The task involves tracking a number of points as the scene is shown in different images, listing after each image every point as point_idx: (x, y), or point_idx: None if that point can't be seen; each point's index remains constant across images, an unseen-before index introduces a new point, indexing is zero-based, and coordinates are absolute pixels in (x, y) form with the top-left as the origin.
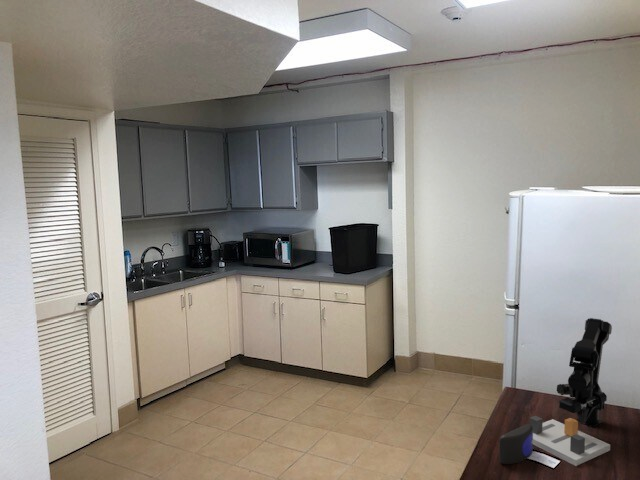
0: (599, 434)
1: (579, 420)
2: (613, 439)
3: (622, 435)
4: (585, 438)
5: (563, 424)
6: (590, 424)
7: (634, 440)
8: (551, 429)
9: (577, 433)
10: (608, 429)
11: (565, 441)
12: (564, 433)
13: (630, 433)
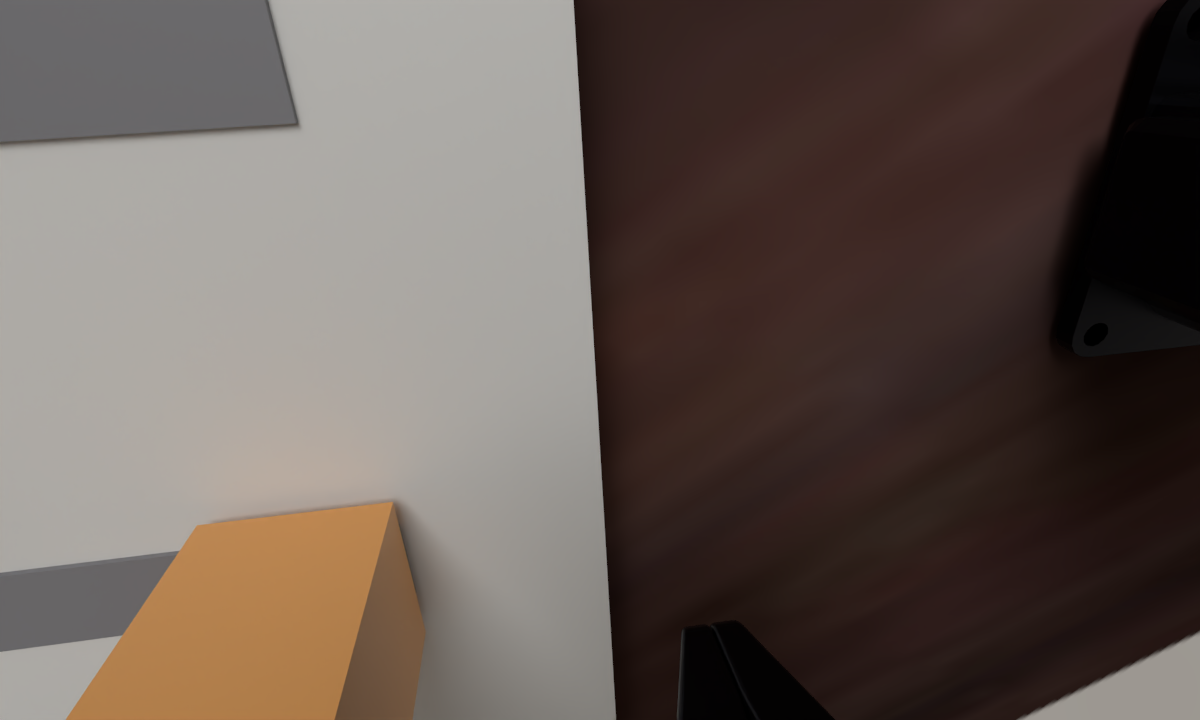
0: (893, 521)
1: (679, 690)
2: (889, 649)
3: (1064, 623)
4: (468, 706)
5: (558, 184)
6: (1104, 309)
7: (1026, 716)
8: (29, 230)
9: (416, 654)
10: (1129, 475)
11: (35, 683)
12: (197, 528)
13: (1173, 621)
